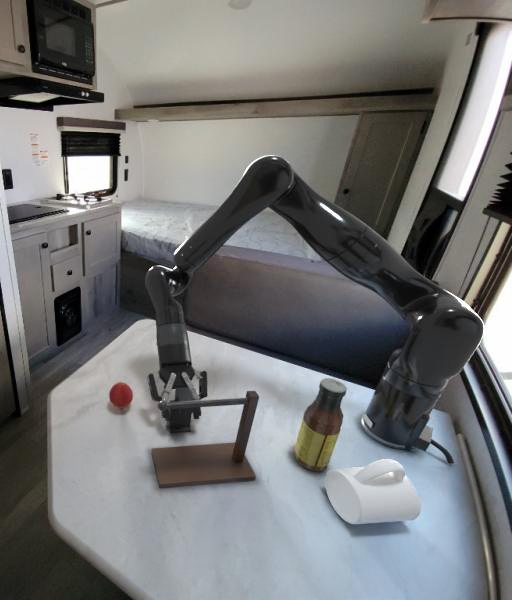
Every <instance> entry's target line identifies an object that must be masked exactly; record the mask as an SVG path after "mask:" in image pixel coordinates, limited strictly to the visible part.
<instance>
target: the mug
mask: <svg viewBox="0 0 512 600" xmlns="http://www.w3.org/2000/svg"><path fill="white" fill-rule="evenodd" d="M324 487H325V491H326V495H327V497H328V500H329V502H330V504H331V506H332V507H333V509H334V510H335V512H336V513H337V515H338V516H339V517H340V518H341V519H342V520H343V521H345V522H346V523H348V524H351V525H364V524H365V525H366V524H380V523H392V522H394V523H395V522H405V521H406V522H408V521H414V520H416V519H418V518H419V516H420V514H421V511H422V503H421V499H420V495H419V494H418V491H417V489H416V487H415V486H414V484H413V482H412V481H411V480H410V479H409V478H408V477H407V476H406V470H405V468H404V466H403V465H402V464H401V463H400V462H398V461H397V460H394V459H391V458H381V459H377V460H375V461H373V462H370V463H369V464H367V465H366V466H354V467H352V466H351V467H339V468H338V467H337V468H335V467H334V468H331V469H329V470H328V471H327V472H326V474H325V478H324Z"/></svg>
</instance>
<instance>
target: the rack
mask: <svg viewBox="0 0 512 600" xmlns="http://www.w3.org/2000/svg"><path fill="white" fill-rule="evenodd" d="M257 392H258V391H256V390H246V394H245V397H231V398H229V397H228V398H214V399H201V400H196V401H180V402H170V401H167V402H165V401H160V402H157V409H158V410H159V411H160V412H161V411H166V410H167V409H180V408H196V407H201V408H211V407H224V406H226V407H227V406H239V405H240V406H241V405H243V406H242V410H241V411H242V412H241V416H240V420H239V424H238V429H237V433H236V437H235V442H221V443H210V444H209V443H208V444H206V443H205V444H195V445H193V444H192V445H180V446H168V447H167V446H166V447H153V448H151V455H152V461H153V465H154V470H155V474H156V479H157V483H158V487H159V489H163V488H175V487H186V486H188V487H189V486H200V485H212V484H225V483H237V482H238V483H240V482H251V481H256V478H257V476H256V473H255V471H254V470H253V467H252V466H251V464H250V462H249V460H248V458H247V455H246V452H247V448H248V444H249V440H250V435H251V432H252V427H253V423H254V419H255V416H256V412H257V408H258V404H259V400H260V395H259V394H258V393H257Z"/></svg>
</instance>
